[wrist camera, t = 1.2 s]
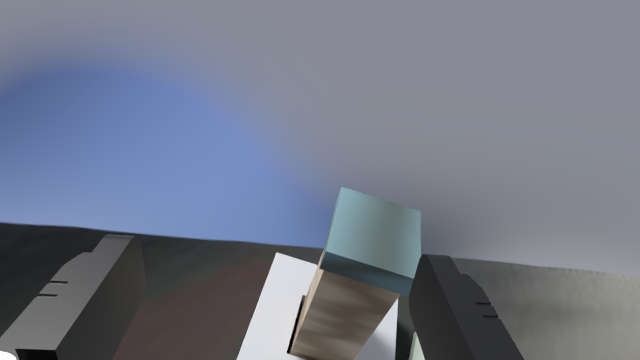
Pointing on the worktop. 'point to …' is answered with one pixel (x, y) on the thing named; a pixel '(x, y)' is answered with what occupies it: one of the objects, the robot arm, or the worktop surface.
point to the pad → (416, 349)
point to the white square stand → (285, 305)
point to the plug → (357, 276)
